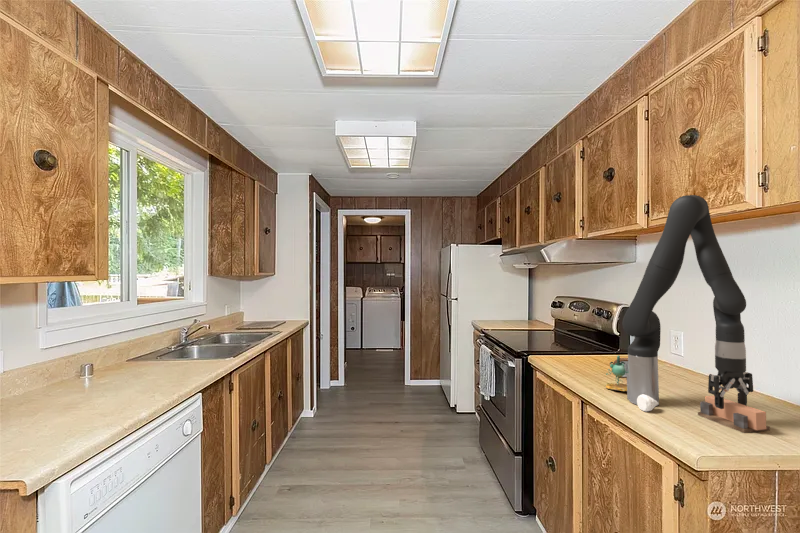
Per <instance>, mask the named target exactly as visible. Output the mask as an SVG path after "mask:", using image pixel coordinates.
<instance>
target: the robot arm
mask: <svg viewBox="0 0 800 533" xmlns="http://www.w3.org/2000/svg"><path fill="white" fill-rule="evenodd" d="M711 218H712V217H711V213H710V207H709V204H708V202H707V200H706V199H705V198H704V197H702V196H700V195H696V194H689V195H683V196H679V197H678V198H676V199H675V200H674V201H672V203H671V205H670V207H669V210H668V214H667V216H666V221H665V223H664V224H665V225H664V228H663V231H662V234H661V236H660V239H659V240H658V242H657V244H656V246H655V248H654V250H653V252H652V255H651V257H650V259H649V261H648V264H647V266H646V268H645V271H644V274H643V276H642V279H641V281H640V284H639V286H638V289H637V291H636V292H635V295H634V297H633V299H632V301H631V303H630V305H629V306H628V308H627V310H626V312H625V313H624V315H623V318H622V324H621V325H622V329H623V331H624V332H625V333H626V335H628V336H630V337H634V339H633V341H632V342H631V343H630V344H629V345H628V347H627V358H628V371H629V373H627V378H626V379H627V380H626V384H627V391H626V395H627V398H626V399H627V400H629V403H632V404H634V405H637V398H638V396H640V395H642V394H644V395H647V396H650V397H651V398H653V399H654V400H656V401H657V402H658V405H656V406H655V407H657V406H659V405H660V388H659V383H660V382H659V355H658V352H659V349H660V347H661V332H662V331H661V327H662V326H661V322H660V318H659V316H658V314H657V313H656V312H654V311H653V310H654V308H655V306H656V304H657V303H658V302H659V301H660V300H661V299H662V297H664V296H665V294H666V293H667V292H668V291H669V290H670V289H671V287H673V285H674V284H675V282H676V280H677V277H678V275H679V273H680V271H681V269H682V265H683V263H684V258H685V252H686V246H687V242H688V240H689V238H690V237H691V240H692V242H693V246H694V251H695V256H696V260H697V264H698V266H699V270H700V271H701V273H702V275H703V278H704V281H705V282H706V284H707V285H708V286H709V287H710V289H711V291H712V293H713V296H714V297H713V301H712V308H713V315H714V321H715V343H714V367H715V369H716V370H717V374H711V373H710V374H708V385H707V386H708V387H707V389H708V390H707V392H708V394H711V395H712V396H713V395H714V396H715V406H716V407H717V408H720V409H724V399H725V395H726V393H727V392H729V391H730V389H731V390H732V389H734V388H735V389H736V391H737V403H739V404H743V405H746V406H748V395H749V393H753V392H754V384H753V383H754V379H753V378H754V377H753V373H752V372H747V350H746V349H747V348H746V344H745V339H746V338H745V327H744V325H743V323H742V320H741V319H742V318H741V314H742V313H743V312H744V311H745V310H746V309H747V308H746V307H747V299H746V298H745V295H744V293H743V291H742V289H741V288H740V286H739V285H738V283H737V281H736V279H735V278H734V276H733V274H732V273H733V272H732V271H731V268H730V266H729V264H728V262H727V259H726V257H725V255H724V253H723V251H722V248H721V246H720V243H719V240H718V239H717V235H716V233H715V229H714V227H713V224H712V219H711ZM637 406H638V405H637Z"/></svg>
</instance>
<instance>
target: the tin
mask: <svg viewBox="0 0 800 533" xmlns="http://www.w3.org/2000/svg"><path fill="white" fill-rule="evenodd" d="M621 362H624V363H625V364H624V363H622V364H624V367H625V370H626V372H625V375H624V376H621V377H620V378H623V379H624V378H626V379H627V373H628V372H629V371H628V357H620V363H621ZM615 363H617V359H615V360H614V361H613V363H612V364H613V365H615Z"/></svg>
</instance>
